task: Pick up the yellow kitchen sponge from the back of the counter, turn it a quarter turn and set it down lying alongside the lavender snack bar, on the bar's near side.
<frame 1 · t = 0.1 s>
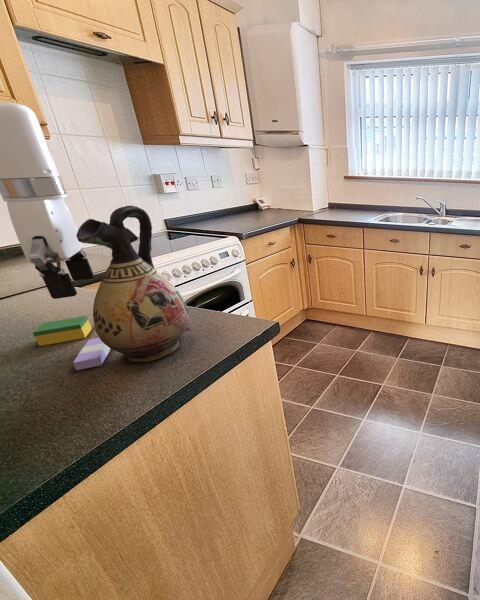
hand: (75, 287, 61), 16 cm above the table, tool pointing down, fingers open, 9 cm apart
ceramic jug: (159, 349, 73), on the table
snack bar: (96, 355, 71), on the table
sponge: (67, 337, 78), on the table
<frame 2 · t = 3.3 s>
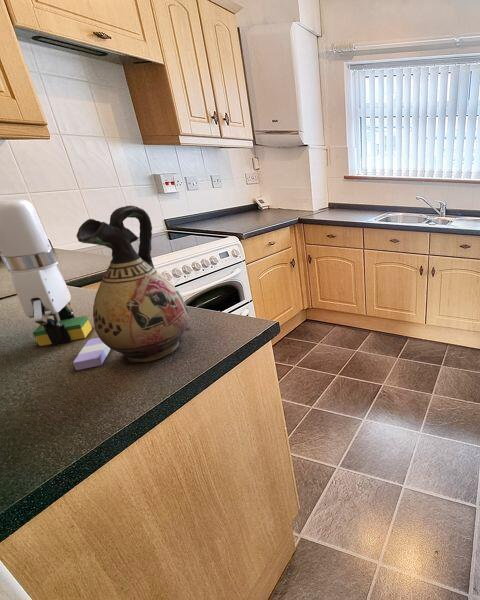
hand: (66, 335, 78), 0 cm above the table, tool pointing down, fingers closed on sponge, 5 cm apart
sponge: (67, 337, 78), on the table, touching gripper
everything else where it was.
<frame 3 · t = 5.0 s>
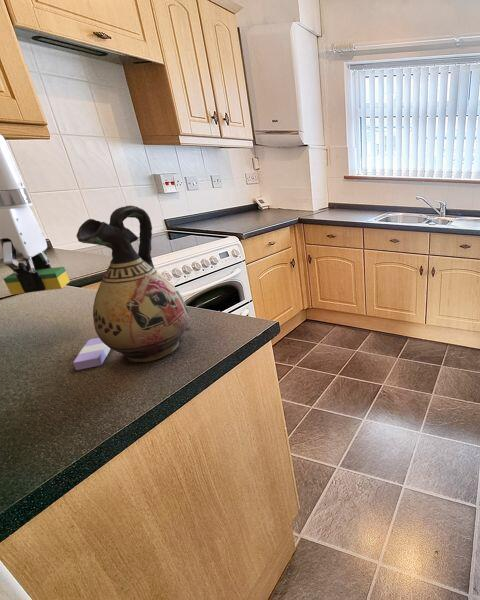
hand: (41, 285, 73), 13 cm above the table, tool pointing down, fingers closed on sponge, 5 cm apart
sponge: (42, 287, 73), point 12 cm above the table, touching gripper
everything else where it was.
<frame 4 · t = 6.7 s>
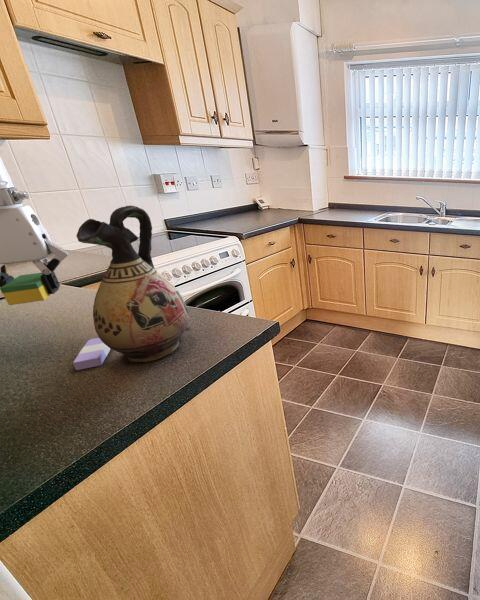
hand: (34, 293, 67), 13 cm above the table, tool pointing down, fingers closed on sponge, 5 cm apart
sponge: (35, 295, 67), point 13 cm above the table, touching gripper
everything else where it was.
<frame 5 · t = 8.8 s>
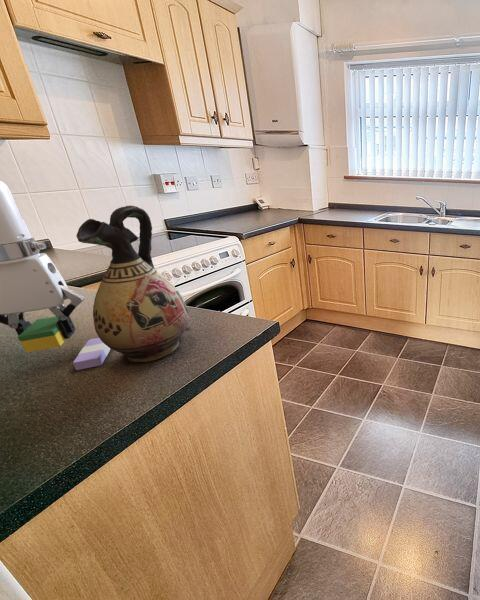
hand: (51, 338, 68), 5 cm above the table, tool pointing down, fingers closed on sponge, 5 cm apart
sponge: (52, 340, 68), point 4 cm above the table, touching gripper
everything else where it was.
when the fingers open (0 cm above the table, at t = 10.3 s): sponge stays where it is, on the table.
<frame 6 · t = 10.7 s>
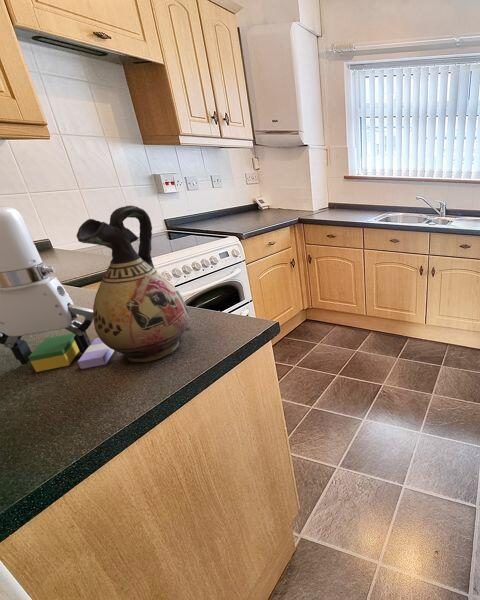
hand: (57, 355, 69), 1 cm above the table, tool pointing down, fingers open, 8 cm apart
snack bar: (102, 354, 71), on the table, touching gripper
sponge: (60, 358, 70), on the table
everything else where it was.
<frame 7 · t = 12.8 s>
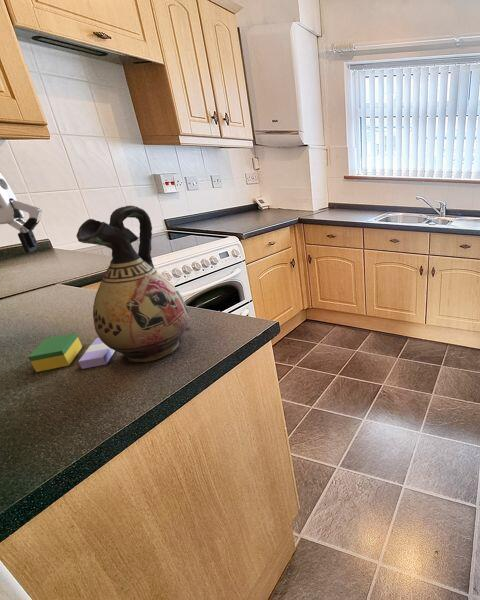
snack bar: (102, 354, 71), on the table
everything else where it was.
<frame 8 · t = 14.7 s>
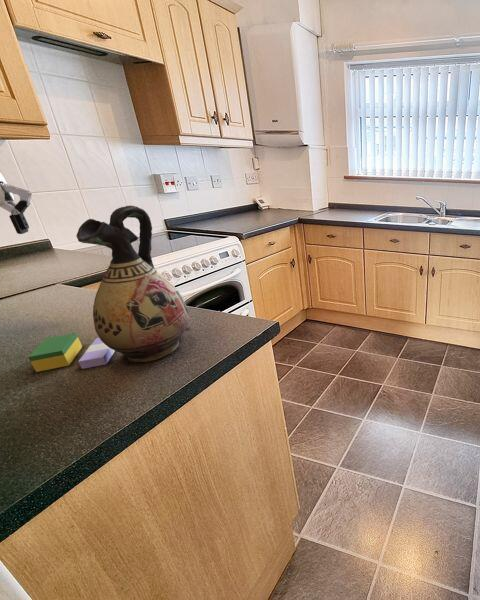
nothing on the table moved.
at the end: sponge 3.1 cm from the target spot on the table beside the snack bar, on the table; sponge tilted 0°; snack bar moved 1.1 cm from its start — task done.
